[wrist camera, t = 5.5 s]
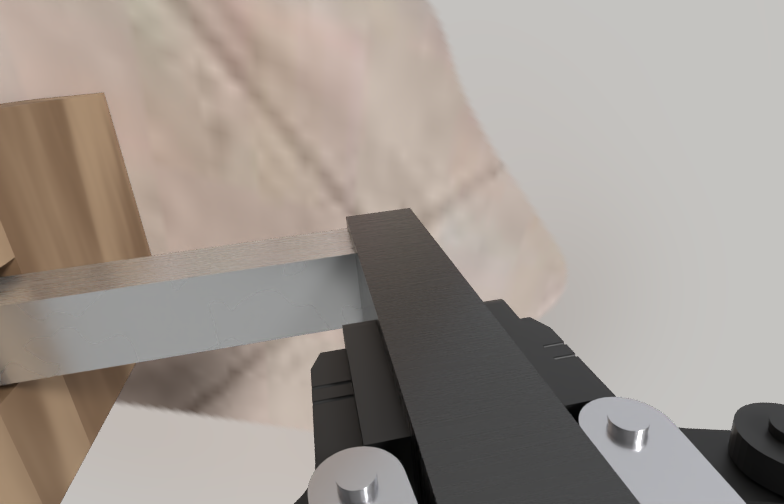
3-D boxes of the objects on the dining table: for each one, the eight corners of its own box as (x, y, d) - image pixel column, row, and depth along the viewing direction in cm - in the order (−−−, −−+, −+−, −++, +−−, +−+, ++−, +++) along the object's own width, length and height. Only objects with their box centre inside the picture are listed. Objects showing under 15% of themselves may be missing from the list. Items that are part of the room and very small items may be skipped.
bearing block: (106, 315, 26) (-139, 641, 11) (32, 99, 22) (-499, 172, 7) (166, 306, 27) (2, 610, 12) (103, 92, 22) (-265, 148, 8)
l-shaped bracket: (-26, 364, 15) (-1015, 1288, 4) (-69, 272, 14) (-1696, 1204, 2) (416, 293, 17) (660, 766, 5) (409, 207, 15) (700, 579, 4)
